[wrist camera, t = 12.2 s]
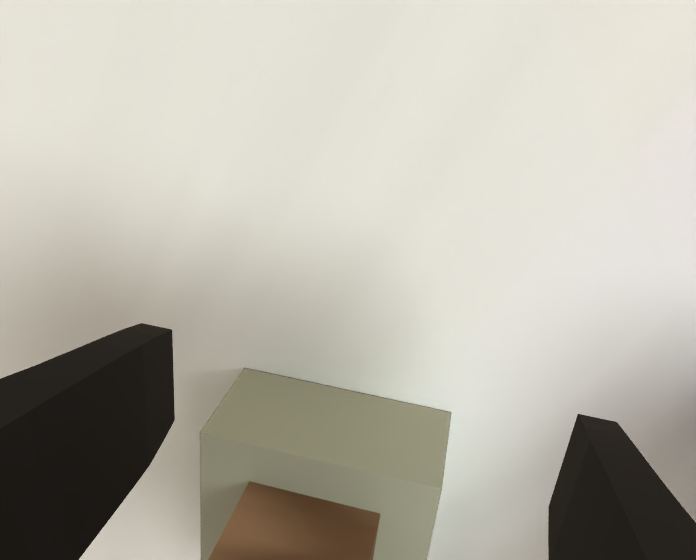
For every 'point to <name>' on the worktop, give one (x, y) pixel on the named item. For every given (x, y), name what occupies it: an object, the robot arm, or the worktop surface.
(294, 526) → the walnut cube
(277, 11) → the worktop surface
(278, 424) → the sage base block
